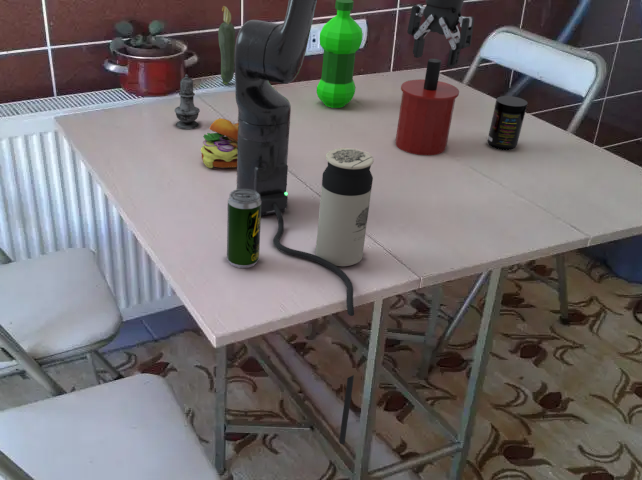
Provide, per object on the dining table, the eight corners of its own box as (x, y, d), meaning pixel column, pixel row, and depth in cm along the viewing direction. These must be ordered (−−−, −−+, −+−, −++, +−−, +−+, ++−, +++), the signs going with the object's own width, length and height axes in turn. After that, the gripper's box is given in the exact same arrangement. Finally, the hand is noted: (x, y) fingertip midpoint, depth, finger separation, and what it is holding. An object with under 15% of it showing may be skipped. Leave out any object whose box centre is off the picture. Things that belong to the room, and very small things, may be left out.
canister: (455, 147, 169) (466, 92, 162) (425, 159, 162) (435, 103, 155) (415, 132, 175) (424, 79, 168) (385, 143, 169) (393, 89, 162)
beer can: (223, 267, 122) (224, 201, 116) (230, 250, 127) (231, 186, 120) (256, 270, 122) (259, 204, 115) (261, 254, 126) (264, 190, 119)
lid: (469, 95, 162) (476, 62, 158) (435, 107, 155) (442, 73, 151) (422, 81, 169) (428, 48, 165) (388, 92, 162) (393, 58, 158)
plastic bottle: (305, 103, 189) (313, -1, 175) (334, 95, 195) (344, -6, 181) (334, 114, 183) (345, 8, 169) (363, 105, 189) (375, 2, 175)
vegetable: (237, 86, 198) (238, 7, 187) (222, 88, 196) (223, 9, 185) (229, 81, 201) (230, 4, 190) (215, 83, 199) (215, 5, 188)
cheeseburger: (187, 160, 157) (195, 113, 153) (223, 159, 164) (231, 113, 161) (220, 175, 151) (229, 126, 147) (256, 173, 159) (265, 126, 155)
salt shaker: (198, 130, 172) (198, 78, 165) (173, 129, 172) (171, 77, 165) (201, 120, 176) (200, 70, 170) (176, 119, 176) (174, 69, 170)
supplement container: (522, 150, 168) (533, 105, 162) (494, 152, 167) (505, 106, 161) (507, 139, 174) (518, 95, 168) (481, 140, 172) (490, 96, 167)
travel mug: (305, 253, 127) (314, 154, 117) (338, 239, 131) (349, 143, 121) (338, 273, 122) (350, 171, 112) (371, 258, 126) (386, 159, 116)
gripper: (407, -24, 151) (396, 57, 160) (467, -11, 143) (452, 73, 152) (429, -28, 155) (417, 51, 165) (489, -16, 147) (472, 67, 156)
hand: (434, 61), depth 158 cm, fingers open, 8 cm apart
